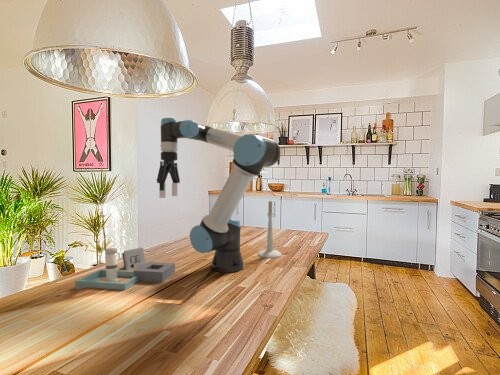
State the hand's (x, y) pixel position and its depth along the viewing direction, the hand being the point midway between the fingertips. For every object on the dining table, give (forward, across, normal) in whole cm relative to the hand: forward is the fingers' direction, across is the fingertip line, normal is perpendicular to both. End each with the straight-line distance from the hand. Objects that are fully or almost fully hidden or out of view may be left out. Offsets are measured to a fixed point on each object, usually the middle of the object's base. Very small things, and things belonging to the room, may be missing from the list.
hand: (169, 197), depth 135 cm
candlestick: (+33, -28, +46) cm, 63 cm away
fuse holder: (+33, +18, +2) cm, 37 cm away
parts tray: (+33, +26, -12) cm, 43 cm away
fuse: (+32, +26, -12) cm, 43 cm away
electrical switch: (+33, +7, -14) cm, 37 cm away
